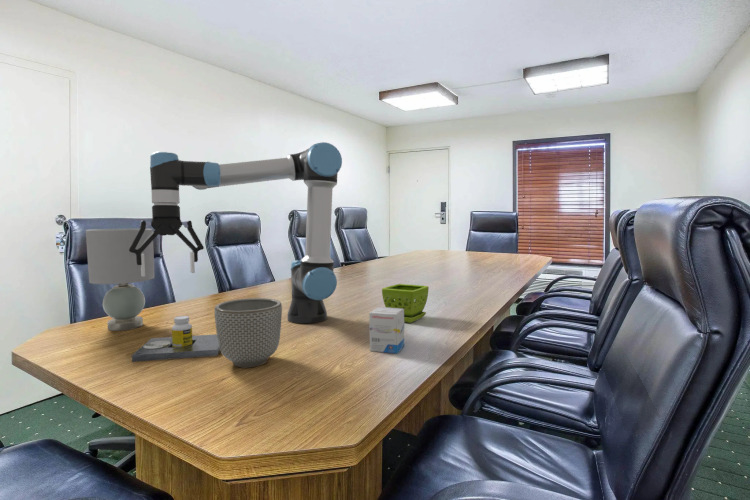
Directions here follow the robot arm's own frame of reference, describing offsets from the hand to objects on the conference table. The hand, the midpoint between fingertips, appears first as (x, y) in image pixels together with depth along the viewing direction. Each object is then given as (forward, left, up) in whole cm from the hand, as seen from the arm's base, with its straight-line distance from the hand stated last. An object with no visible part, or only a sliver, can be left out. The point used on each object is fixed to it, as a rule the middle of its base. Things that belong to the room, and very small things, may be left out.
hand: (168, 274), depth 123 cm
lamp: (+22, -26, -22) cm, 41 cm away
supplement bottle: (-5, +6, -22) cm, 24 cm away
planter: (-26, +22, -22) cm, 40 cm away
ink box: (-65, +18, -22) cm, 71 cm away
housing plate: (-5, +6, -22) cm, 23 cm away
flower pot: (-80, -14, -22) cm, 84 cm away
